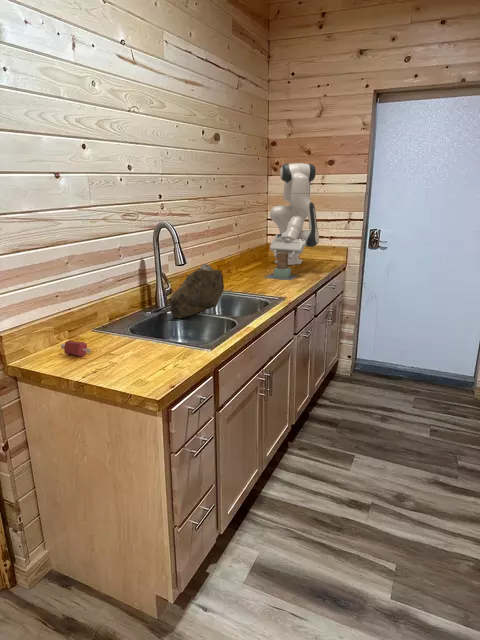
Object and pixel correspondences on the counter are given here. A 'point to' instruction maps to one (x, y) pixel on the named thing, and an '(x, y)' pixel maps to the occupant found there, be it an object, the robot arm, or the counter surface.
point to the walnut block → (282, 260)
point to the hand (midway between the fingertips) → (282, 257)
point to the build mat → (281, 278)
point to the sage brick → (282, 273)
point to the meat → (75, 348)
